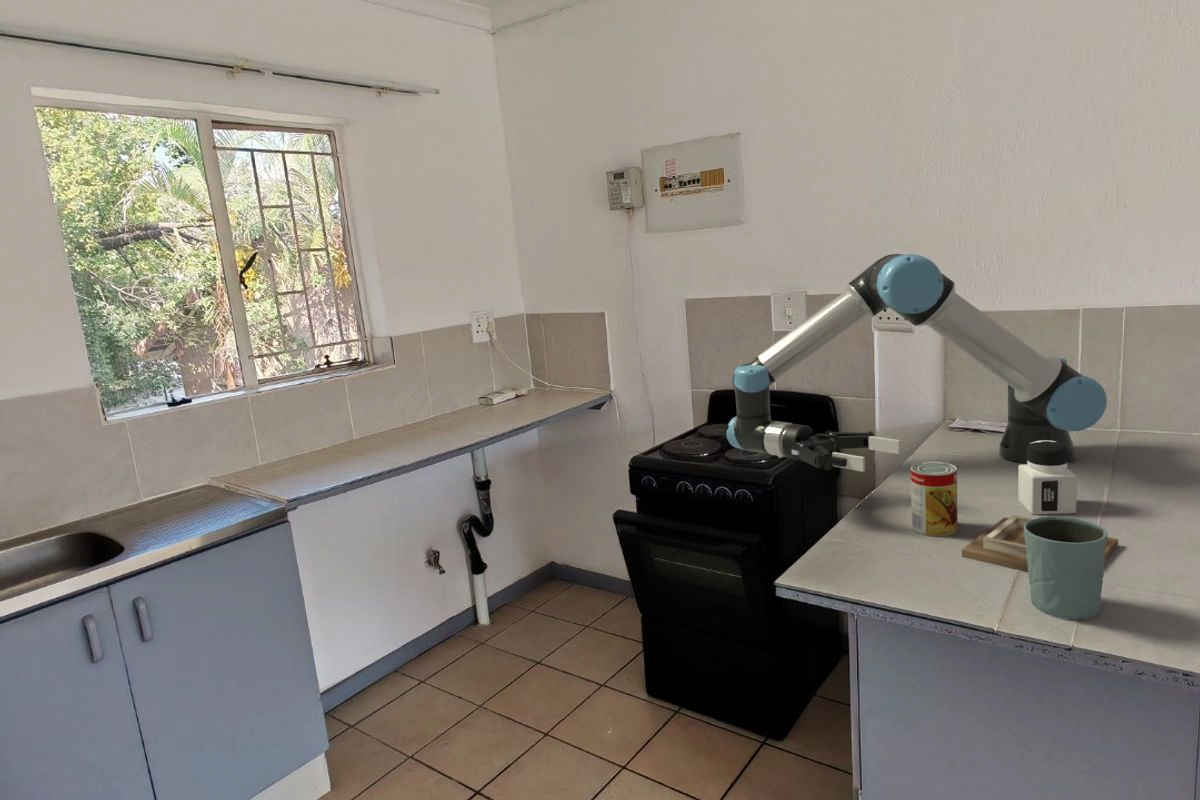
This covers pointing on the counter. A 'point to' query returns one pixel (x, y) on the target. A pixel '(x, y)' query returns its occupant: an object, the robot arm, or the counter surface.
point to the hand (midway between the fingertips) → (882, 455)
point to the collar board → (1009, 544)
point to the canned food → (934, 498)
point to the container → (1047, 480)
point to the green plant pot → (1065, 565)
